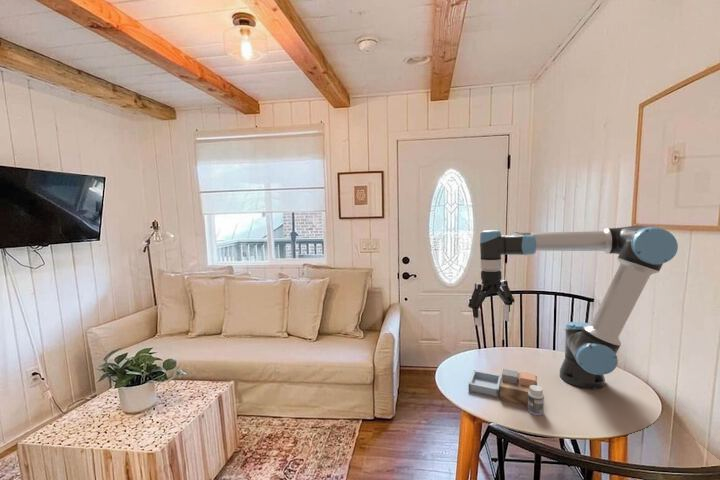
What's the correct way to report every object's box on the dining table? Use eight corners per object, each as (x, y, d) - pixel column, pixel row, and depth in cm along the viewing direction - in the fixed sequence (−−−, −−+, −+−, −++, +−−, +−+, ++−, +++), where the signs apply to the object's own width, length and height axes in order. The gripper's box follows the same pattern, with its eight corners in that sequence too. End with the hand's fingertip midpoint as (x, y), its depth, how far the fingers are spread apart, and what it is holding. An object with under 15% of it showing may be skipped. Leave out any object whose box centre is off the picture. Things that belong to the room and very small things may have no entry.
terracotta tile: (535, 381, 124) (535, 374, 124) (535, 387, 120) (535, 380, 119) (520, 378, 126) (520, 371, 126) (520, 384, 122) (520, 377, 122)
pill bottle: (525, 407, 116) (525, 384, 115) (539, 407, 116) (540, 384, 115) (531, 415, 111) (531, 391, 111) (545, 415, 111) (546, 391, 110)
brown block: (536, 388, 128) (536, 375, 128) (536, 407, 116) (537, 393, 115) (502, 381, 134) (502, 369, 133) (499, 399, 121) (499, 386, 121)
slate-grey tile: (517, 377, 127) (517, 371, 127) (517, 383, 122) (517, 377, 122) (503, 375, 129) (503, 368, 129) (502, 380, 125) (502, 374, 124)
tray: (501, 382, 133) (501, 375, 133) (498, 397, 122) (498, 389, 122) (473, 377, 138) (473, 370, 138) (468, 391, 127) (468, 383, 127)
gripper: (509, 265, 138) (510, 315, 139) (458, 271, 130) (459, 324, 131) (523, 268, 131) (524, 320, 132) (470, 274, 123) (471, 330, 124)
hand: (492, 322), depth 132 cm, fingers open, 13 cm apart
